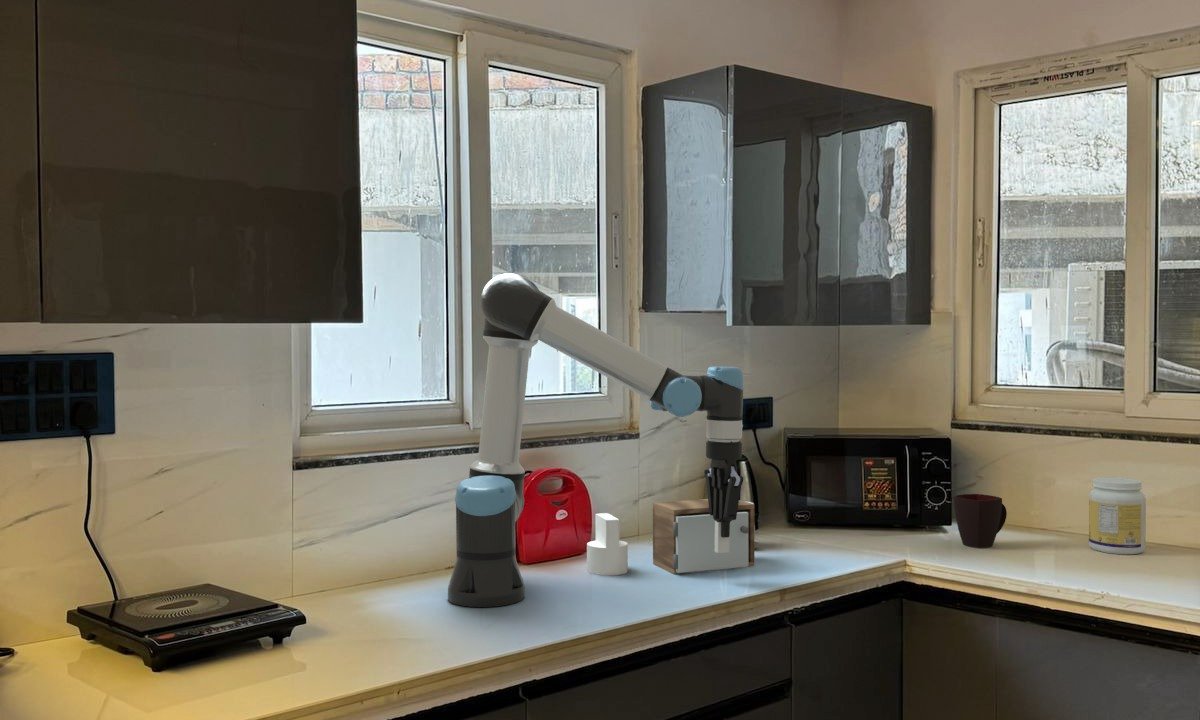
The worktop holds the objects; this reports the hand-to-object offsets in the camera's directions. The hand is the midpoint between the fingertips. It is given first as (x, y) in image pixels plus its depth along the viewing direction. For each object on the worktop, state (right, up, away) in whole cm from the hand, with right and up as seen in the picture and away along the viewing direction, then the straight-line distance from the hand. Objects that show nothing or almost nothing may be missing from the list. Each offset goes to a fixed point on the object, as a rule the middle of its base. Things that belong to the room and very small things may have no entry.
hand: (721, 551), depth 211 cm
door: (-1, -6, +8) cm, 10 cm away
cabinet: (-2, -6, +16) cm, 17 cm away
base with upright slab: (-24, -7, +11) cm, 27 cm away
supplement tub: (+99, -6, +30) cm, 103 cm away
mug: (+69, -6, +36) cm, 78 cm away
